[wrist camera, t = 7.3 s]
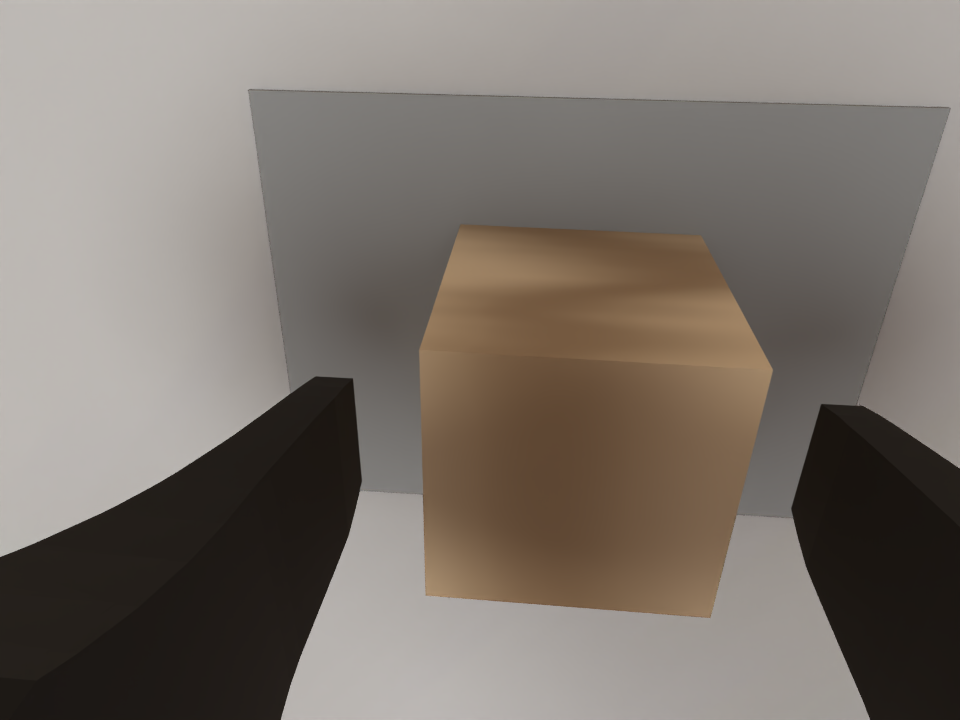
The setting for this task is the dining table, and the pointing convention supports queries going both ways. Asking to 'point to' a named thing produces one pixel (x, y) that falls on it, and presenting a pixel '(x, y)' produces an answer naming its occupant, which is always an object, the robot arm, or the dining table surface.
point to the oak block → (585, 420)
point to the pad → (587, 206)
